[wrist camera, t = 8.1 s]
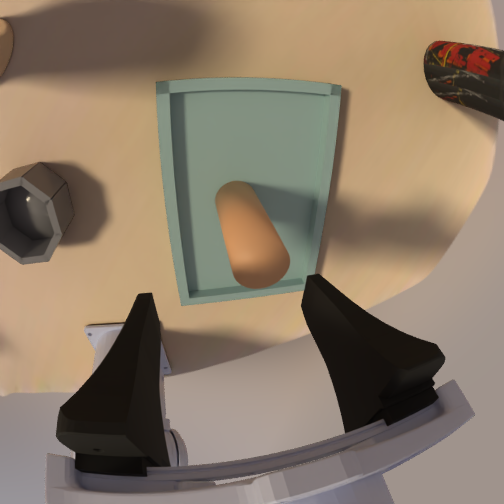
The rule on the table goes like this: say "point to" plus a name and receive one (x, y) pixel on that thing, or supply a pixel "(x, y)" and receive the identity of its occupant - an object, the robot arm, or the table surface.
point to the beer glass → (5, 44)
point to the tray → (244, 172)
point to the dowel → (250, 237)
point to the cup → (33, 213)
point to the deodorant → (467, 75)
